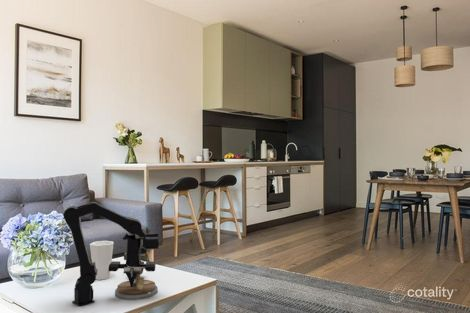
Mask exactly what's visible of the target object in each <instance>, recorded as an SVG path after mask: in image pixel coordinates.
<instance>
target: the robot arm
mask: <svg viewBox="0 0 470 313" xmlns="http://www.w3.org/2000/svg"><path fill="white" fill-rule="evenodd" d="M92 213H93V214H95V215H97V216H99V217H102V218H104V219H105V220H108V221H110V222H113V223H114V224H117V225H119V226H120V227H121V228H122V229H124V230H125V231H126V232H125V234H124V235H123V236H122V237H121V238H122V240H123V241H124V240H126V246H125V247H126V250H125V252H124V254H123V260H124V261H125V263H121V261H112V262H111V263H110V265H109V271H110V272H117V271H119V269H121V270H122V269H123V274H125V275H126V277H127V279H128V281H129V282H130V285H131V287H132V286H133V283H134V280H136V279H135V277H136V276H137V274H138V273H140V272H141V269H143V270H145V271H146V272H155V271H156V265H157V264H156V261H146V262H145V263H144V264H140V262H141V261H142V260H141V258H142V255H141V248H144V250H159V246H160V243H159V242H160V241H159V233H158V232H153V233H148V232H147V233H146V232H145V230H144V229H143V228H142V227H143V226H142V223H141V221H140V220H139V219H137V218H134V217H130V216H125V215H122V214H120V213H118V212H116V211H114V210H111V209H109V208H107V207H105V206H104V205H102V204H99V203H98V202H96V201H92V202H88V203H85V204H82V205H79V206H76V205H71V206H70V205H69V206H68V207H67V208H66V209H65V210H64V212H63V219H64V221H65V223H66V224H67V227H68V228H69V229H70V231H71V236H72V239H73V242H74V247H75V250H76V254H77V258H78V261H79V273H80V274H79V277H78V278H77V279H76V282H75V285H74V288H73V290H74V292H73V293H74V295H73V296H74V298H73V301H72V302H71V303H72V304H74V305H76V306H77V305H78V306H79V307H83V306H86V305H88V304H92V303H94V302H96V301H95V299H94V288H93V285H92V284H93V283H95V282H96V280H97V279H96V275H97V272H98V270H97V269H96V264H95V262H93V263H92V260H91V259H90V256H89V252H88V247H87V245H86V241H85V236H84V234H83V230H82V222H81V221H82V220H81V219H82V218H81V217H83V216H87V215H90V214H92ZM128 233H129V234H128ZM132 269H134V271H133V275H132Z"/></svg>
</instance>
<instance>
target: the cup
mask: <svg viewBox="0 0 470 313" xmlns="http://www.w3.org/2000/svg"><path fill="white" fill-rule="evenodd" d="M114 244H115V242H114V241H111V240H110V241H109V240H97V241H93V242H91V243H89V249H90V257H91V262H92V263H93V262H95V264H96V269H97V270H98V272H97V275H96V279H95V280H98V281H100V280H101V281H102V280H107V279H109V278H110V276H111V271H109V265H110V263H111V262H112V260H113V259H112V258H113V254H114V253H113V252H114Z"/></svg>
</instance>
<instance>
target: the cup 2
mask: <svg viewBox="0 0 470 313" xmlns="http://www.w3.org/2000/svg"><path fill="white" fill-rule="evenodd" d="M140 264H145V261H143V260H141V262H140ZM133 271H134V269H132V275H133ZM143 272H144V269H141V272H140V273H138V274H137V276H136V277H135V280H136V278H139V277H141V276H142V274H143Z"/></svg>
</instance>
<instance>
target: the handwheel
mask: <svg viewBox="0 0 470 313" xmlns="http://www.w3.org/2000/svg"><path fill="white" fill-rule="evenodd" d="M155 285H156V282H155V281H153V280H149V279H144V277H141V276H140V277H139V278H136V279H135V280H134V283H133V286H132V287H131V285H130V282H129V280H126V281H122V282H120V283H119V284H118V285H117V288H116V289H117V291H118V292H119V293H122V294H128V295H136V294H144V293H148V292H150V291H152V290H154V289H155Z"/></svg>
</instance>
